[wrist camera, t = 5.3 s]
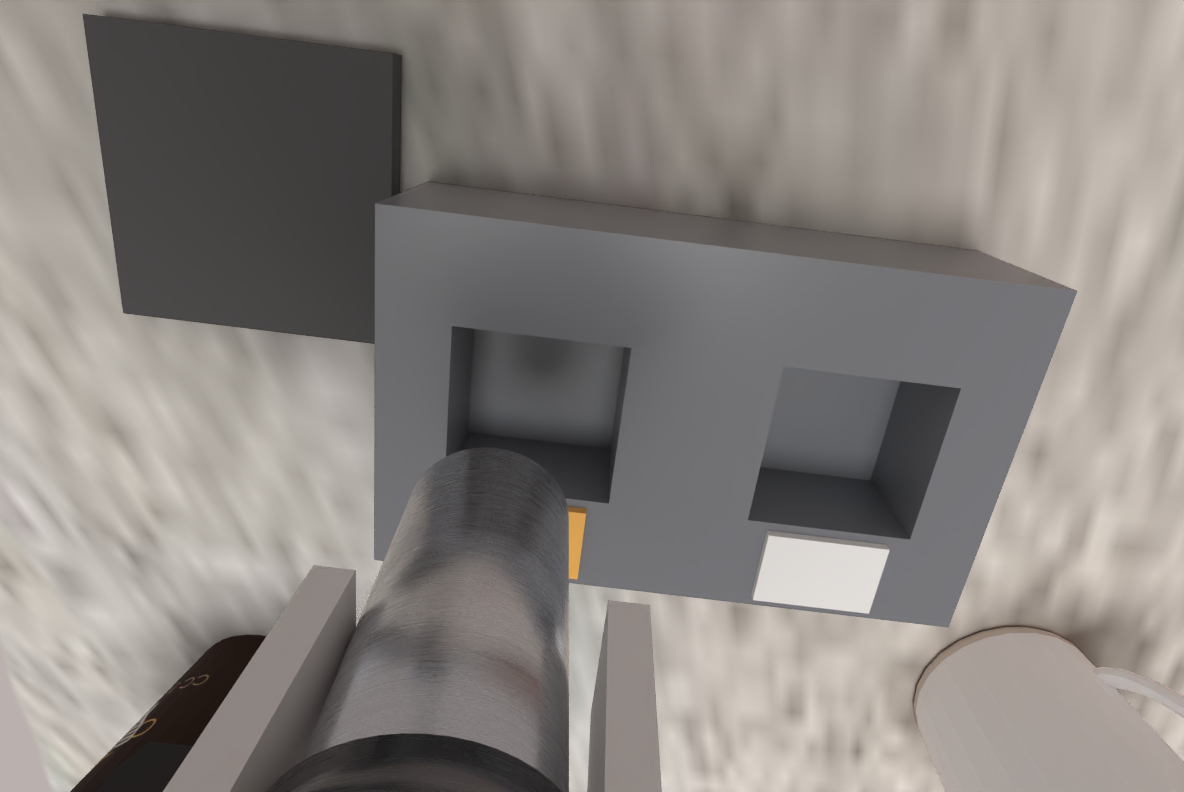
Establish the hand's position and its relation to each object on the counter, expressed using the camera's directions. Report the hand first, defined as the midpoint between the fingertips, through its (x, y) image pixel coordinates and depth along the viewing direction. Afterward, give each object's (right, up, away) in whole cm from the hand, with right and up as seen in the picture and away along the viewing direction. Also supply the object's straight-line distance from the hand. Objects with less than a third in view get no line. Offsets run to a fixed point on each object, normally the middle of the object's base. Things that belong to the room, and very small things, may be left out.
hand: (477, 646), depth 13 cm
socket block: (+5, +6, +15) cm, 17 cm away
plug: (0, +2, +5) cm, 5 cm away
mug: (+22, -8, +20) cm, 31 cm away
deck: (-10, +12, +13) cm, 20 cm away
